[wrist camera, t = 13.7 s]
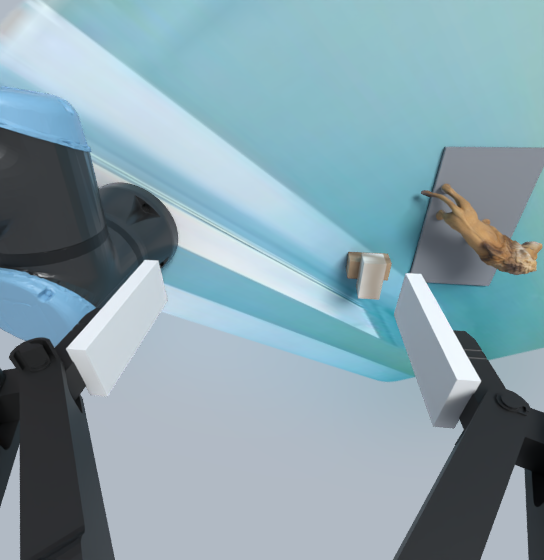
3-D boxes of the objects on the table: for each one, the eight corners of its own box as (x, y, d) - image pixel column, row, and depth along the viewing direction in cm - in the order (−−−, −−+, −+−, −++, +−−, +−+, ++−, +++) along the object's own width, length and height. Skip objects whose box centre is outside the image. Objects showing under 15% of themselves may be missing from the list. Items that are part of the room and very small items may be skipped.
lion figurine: (519, 226, 42) (562, 258, 35) (487, 255, 45) (520, 290, 38) (433, 173, 40) (460, 196, 33) (405, 207, 43) (424, 235, 36)
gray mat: (408, 279, 50) (408, 281, 49) (444, 146, 39) (446, 147, 38) (487, 284, 48) (489, 285, 48) (549, 147, 37) (551, 148, 37)
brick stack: (344, 275, 51) (347, 297, 46) (349, 243, 48) (353, 262, 43) (382, 277, 50) (389, 300, 45) (389, 244, 47) (398, 265, 42)
